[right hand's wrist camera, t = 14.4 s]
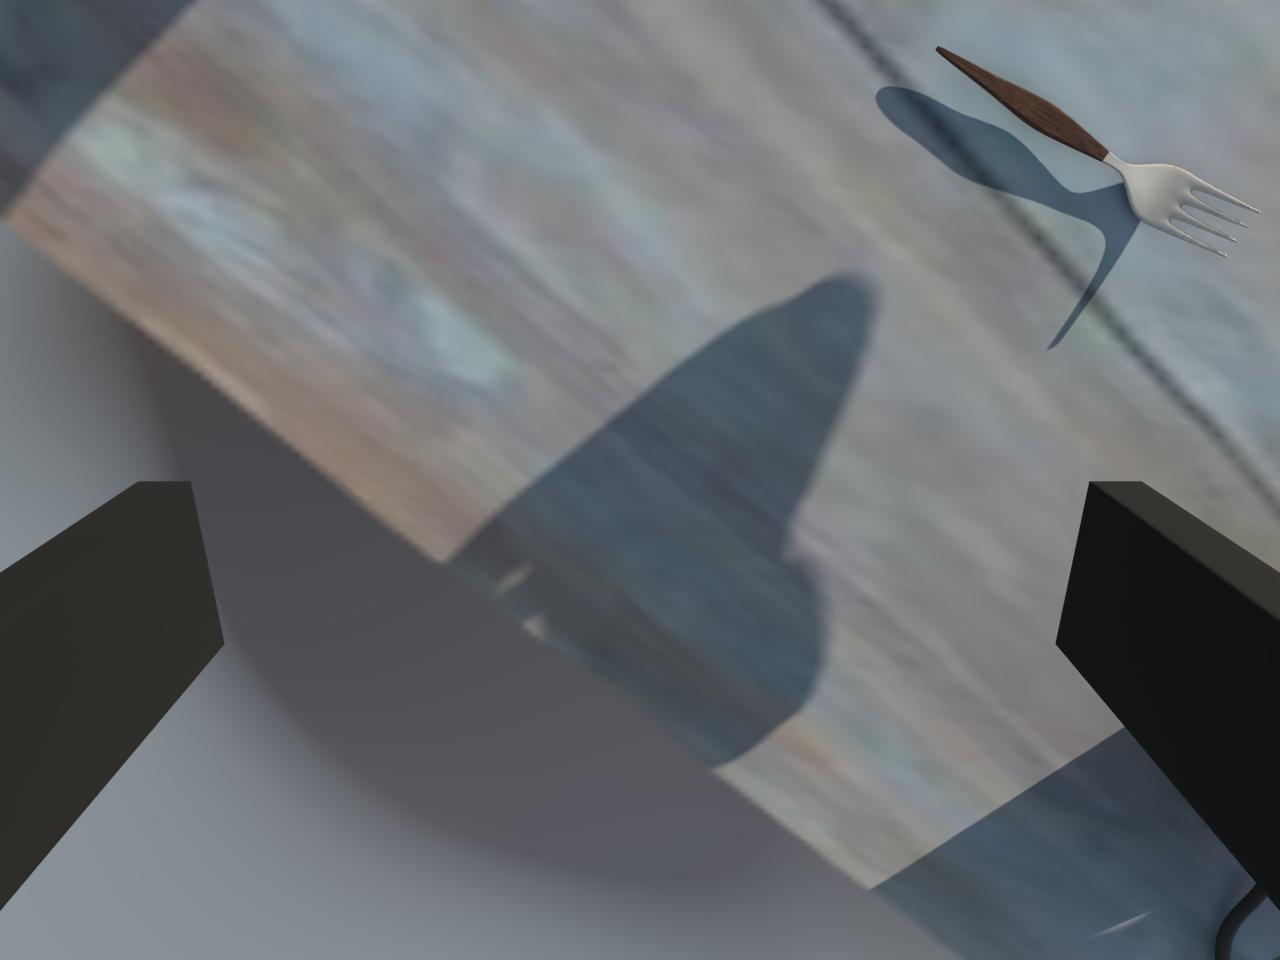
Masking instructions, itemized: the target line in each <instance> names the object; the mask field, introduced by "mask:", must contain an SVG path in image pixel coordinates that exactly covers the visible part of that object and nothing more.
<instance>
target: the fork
mask: <svg viewBox="0 0 1280 960" xmlns="http://www.w3.org/2000/svg"><path fill="white" fill-rule="evenodd" d="M936 51H937V52H938V53H939V54H940V55H942V56H943V57H944V58H945V59H946V60H948V61H949V62H950V63H951V64H953V65H954V66H955V67H957V68H958V69H959V70H960V71H962V72H963V73H964V74H966V75H967V76H968V77H969V78H971V79H972V80H973V81H975V82H976V83H977V84H978V85H980V86H981V87H982V88H983V89H985V90H986V91H987V92H988V93H990V94H991V95H992V96H993V97H994V98H996V99H997V100H998V101H999V102H1000V103H1002V104H1003V105H1004V106H1005V107H1006V108H1007V109H1009V110H1010V111H1011V112H1012V113H1013V114H1015V115H1016V116H1017V117H1018V118H1020V119H1021V120H1022V121H1023V122H1025V123H1026V124H1028V125H1029V126H1030V127H1032V128H1034V129H1035V130H1037V131H1039V132H1040V133H1042V134H1044V135H1046V136H1048V137H1050V138H1052V139H1054V140H1056V141H1058V142H1060V143H1062V144H1064V145H1067V146H1069V147H1071V148H1073V149H1075V150H1077V151H1079V152H1082V153H1084V154H1086V155H1088V156H1090V157H1092V158H1094V159H1097V160H1099V161H1101V162H1103V163H1105V164H1107V165H1109V166H1110V167H1112V168H1114V169H1115V170H1116V171H1117V172H1118V173H1119V174H1120V175H1121V177H1122V179H1123V182H1124V185H1125V189H1126V193H1127V197H1128V200H1129V203H1130V206H1131V208H1132V210H1133V212H1134V213H1135V215H1136V216H1137V217H1138V218H1139V219H1140V220H1141V221H1143V222H1144V223H1146V224H1148V225H1149V226H1152V227H1154V228H1156V229H1159V230H1161V231H1164V232H1166V233H1168V234H1171V235H1173V236H1175V237H1177V238H1180V239H1182V240H1184V241H1187V242H1189V243H1191V244H1194V245H1196V246H1199V247H1201V248H1204V249H1206V250H1209V251H1211V252H1214V253H1216V254H1219V255H1221V256H1223V257H1226V256H1227V255H1226V254H1223V253H1221V252H1219V251H1217V250H1215V249H1214V248H1212V247H1210V246H1208V245H1206V244H1205V243H1203V242H1201V241H1199V240H1197V239H1196V238H1194V237H1192V236H1190V235H1188V234H1187V233H1185V232H1183V231H1181V230H1180V229H1178V228H1176V227H1175V226H1173V225H1172V224H1171V222H1170V220H1171V219H1178V220H1181V221H1183V222H1186V223H1188V224H1191V225H1193V226H1195V227H1198V228H1200V229H1203V230H1205V231H1208V232H1210V233H1213V234H1215V235H1218V236H1220V237H1223V238H1225V239H1228V240H1231V241H1233V242H1238V241H1236V240H1235V239H1233V238H1231V237H1229V236H1227V235H1225V234H1223V233H1222V232H1220V231H1218V230H1216V229H1214V228H1213V227H1211V226H1209V225H1207V224H1205V223H1203V222H1202V221H1200V220H1198V219H1196V218H1194V217H1192V216H1191V215H1189V214H1187V213H1186V212H1184V211H1183V210H1182V209H1181V206H1182V205H1190V206H1192V207H1195V208H1198V209H1200V210H1202V211H1205V212H1207V213H1210V214H1212V215H1215V216H1217V217H1220V218H1222V219H1225V220H1227V221H1230V222H1233V223H1235V224H1238V225H1241V226H1243V227H1246V228H1249V227H1248V226H1247V225H1245V224H1243V223H1241V222H1239V221H1237V220H1236V219H1234V218H1232V217H1230V216H1228V215H1226V214H1224V213H1223V212H1221V211H1219V210H1217V209H1215V208H1213V207H1212V206H1210V205H1208V204H1206V203H1204V202H1202V201H1201V200H1199V199H1197V198H1196V197H1194V196H1193V195H1192V191H1193V190H1199V191H1202V192H1205V193H1207V194H1210V195H1212V196H1215V197H1217V198H1220V199H1222V200H1225V201H1227V202H1230V203H1232V204H1235V205H1238V206H1240V207H1243V208H1246V209H1248V210H1251V211H1253V212H1256V213H1258V214H1259V213H1260V211H1259V210H1256V209H1254V208H1252V207H1250V206H1248V205H1246V204H1244V203H1243V202H1241V201H1239V200H1237V199H1235V198H1233V197H1231V196H1229V195H1228V194H1226V193H1224V192H1222V191H1220V190H1218V189H1216V188H1214V187H1212V186H1211V185H1209V184H1207V183H1205V182H1203V181H1202V180H1200V179H1198V178H1197V177H1195V176H1194V175H1192V174H1190V173H1189V172H1187V171H1185V170H1183V169H1181V168H1178V167H1176V166H1172V165H1167V164H1147V165H1130V164H1127V163H1124V162H1123V161H1121V160H1119V159H1118V158H1117V157H1115V156H1114V155H1113V154H1112V153H1111V152H1109V151H1108V150H1107V149H1106V148H1105V147H1104V146H1102V145H1101V144H1100V143H1099V142H1098V141H1097V140H1096V139H1094V138H1093V137H1092V136H1091V135H1090V134H1089V133H1088V132H1086V131H1085V130H1084V129H1083V128H1082V127H1081V126H1080V125H1078V124H1077V123H1076V122H1075V121H1074V120H1073V119H1071V118H1070V117H1069V116H1068V115H1067V114H1065V113H1064V112H1063V111H1061V110H1060V109H1059V108H1057V107H1056V106H1054V105H1053V104H1051V103H1050V102H1048V101H1046V100H1045V99H1043V98H1041V97H1039V96H1037V95H1035V94H1033V93H1031V92H1029V91H1027V90H1025V89H1023V88H1021V87H1019V86H1017V85H1014V84H1012V83H1010V82H1008V81H1006V80H1004V79H1002V78H1000V77H998V76H996V75H994V74H992V73H990V72H988V71H986V70H984V69H982V68H980V67H978V66H977V65H975V64H973V63H971V62H969V61H967V60H965V59H963V58H961V57H959V56H957V55H956V54H954V53H952V52H950V51H948V50H946V49H944V48H941V47H939V46H938V47H937V48H936Z"/></svg>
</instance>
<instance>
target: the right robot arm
mask: <svg viewBox="0 0 1280 960" xmlns="http://www.w3.org/2000/svg"><path fill="white" fill-rule="evenodd" d="M223 645H224V639H223V634H222V629H221V625H220V620H219V615H218V610H217V605H216V601H215V596H214V591H213V586H212V582H211V577H210V572H209V567H208V562H207V558H206V553H205V548H204V543H203V538H202V534H201V529H200V524H199V519H198V514H197V510H196V505H195V500H194V495H193V490H192V486H191V482H190V481H138V482H137V483H135V484H134V485H132V486H131V487H129V488H128V489H126V490H125V491H123V492H122V493H120V494H118V495H117V496H115V497H114V498H113V499H111V500H109V501H108V502H106V503H105V504H103V505H102V506H100V507H99V508H97V509H96V510H94V511H93V512H91V513H90V514H88V515H87V516H85V517H84V518H82V519H81V520H79V521H78V522H76V523H75V524H73V525H72V526H70V527H69V528H67V529H66V530H64V531H63V532H61V533H60V534H58V535H57V536H55V537H53V538H52V539H50V540H49V541H47V542H46V543H44V544H43V545H41V546H40V547H38V548H37V549H35V550H34V551H32V552H31V553H29V554H28V555H26V556H25V557H23V558H22V559H20V560H19V561H17V562H16V563H14V564H13V565H11V566H10V567H8V568H7V569H5V570H4V571H2V572H1V573H0V910H1V909H2V908H3V907H4V906H5V904H6V903H7V902H8V901H9V900H10V898H11V897H12V896H13V895H14V894H15V893H16V891H17V890H18V889H19V888H20V887H21V885H22V884H23V883H24V882H25V881H26V880H27V878H28V877H29V876H30V875H31V874H32V872H33V871H34V870H35V869H36V868H37V866H38V865H39V864H40V863H41V862H42V860H43V859H44V858H45V857H46V856H47V855H48V853H49V852H50V851H51V850H52V848H53V847H54V846H55V845H56V844H57V843H58V841H59V840H60V839H61V838H62V837H63V835H64V834H65V833H66V832H67V831H68V830H69V828H70V827H71V826H72V825H73V824H74V822H75V821H76V820H77V819H78V818H79V816H80V815H81V814H82V813H83V812H84V810H85V809H86V808H87V807H88V806H89V805H90V803H91V802H92V801H93V800H94V799H95V797H96V796H97V795H98V794H99V793H100V791H101V790H102V789H103V788H104V787H105V785H106V784H107V783H108V782H109V781H110V780H111V778H112V777H113V776H114V775H115V774H116V772H117V771H118V770H119V769H120V768H121V766H122V765H123V764H124V763H125V762H126V760H127V759H128V758H129V757H130V756H131V755H132V753H133V752H134V751H135V750H136V749H137V747H138V746H139V745H140V744H141V743H142V741H143V740H144V739H145V738H146V737H147V735H148V734H149V733H150V732H151V731H152V730H153V728H154V727H155V726H156V725H157V724H158V722H159V721H160V720H161V719H162V718H163V716H164V715H165V714H166V713H167V712H168V710H169V709H170V708H171V707H172V706H173V705H174V703H175V702H176V701H177V700H178V699H179V697H180V696H181V695H182V694H183V693H184V692H185V690H186V689H187V688H188V687H189V686H190V684H191V683H192V682H193V681H194V680H195V678H196V677H197V676H198V675H199V674H200V672H201V671H202V670H203V669H204V668H205V667H206V665H207V664H208V663H209V662H210V661H211V659H212V658H213V657H214V656H215V655H216V653H217V652H218V651H219V650H220V649H221V647H222V646H223ZM1056 645H1057V646H1058V647H1059V649H1060V650H1061V651H1062V652H1063V653H1064V655H1065V656H1066V657H1067V658H1068V659H1069V661H1070V662H1071V663H1072V664H1073V665H1074V667H1075V668H1076V669H1077V670H1078V671H1079V672H1080V674H1081V675H1082V676H1083V677H1084V678H1085V680H1086V681H1087V682H1088V683H1089V684H1090V686H1091V687H1092V688H1093V689H1094V690H1095V692H1096V693H1097V694H1098V695H1099V696H1100V697H1101V699H1102V700H1103V701H1104V702H1105V703H1106V705H1107V706H1108V707H1109V708H1110V709H1111V711H1112V712H1113V713H1114V714H1115V715H1116V716H1117V718H1118V719H1119V720H1120V721H1121V722H1122V724H1123V725H1124V726H1125V727H1126V728H1127V730H1128V731H1129V732H1130V733H1131V734H1132V736H1133V737H1134V738H1135V739H1136V740H1137V741H1138V743H1139V744H1140V745H1141V746H1142V747H1143V749H1144V750H1145V751H1146V752H1147V753H1148V755H1149V756H1150V757H1151V758H1152V759H1153V761H1154V762H1155V763H1156V764H1157V765H1158V766H1159V768H1160V769H1161V770H1162V771H1163V772H1164V774H1165V775H1166V776H1167V777H1168V778H1169V780H1170V781H1171V782H1172V783H1173V784H1174V786H1175V787H1176V788H1177V789H1178V790H1179V791H1180V793H1181V794H1182V795H1183V796H1184V797H1185V799H1186V800H1187V801H1188V802H1189V803H1190V805H1191V806H1192V807H1193V808H1194V809H1195V810H1196V812H1197V813H1198V814H1199V815H1200V816H1201V818H1202V819H1203V820H1204V821H1205V822H1206V824H1207V825H1208V826H1209V827H1210V828H1211V830H1212V831H1213V832H1214V833H1215V834H1216V835H1217V837H1218V838H1219V839H1220V840H1221V841H1222V843H1223V844H1224V845H1225V846H1226V847H1227V849H1228V850H1229V851H1230V852H1231V853H1232V855H1233V856H1234V857H1235V858H1236V859H1237V860H1238V862H1239V863H1240V864H1241V865H1242V866H1243V868H1244V869H1245V870H1246V871H1247V872H1248V874H1249V875H1250V876H1251V877H1252V878H1253V880H1254V881H1255V882H1256V884H1255V886H1254V887H1253V888H1252V889H1251V890H1250V892H1249V893H1248V894H1247V895H1246V896H1245V897H1244V898H1243V899H1242V900H1241V901H1240V902H1239V903H1238V904H1237V905H1236V906H1235V907H1234V908H1233V909H1232V910H1231V911H1230V913H1229V914H1228V915H1227V916H1226V918H1225V919H1224V921H1223V923H1222V925H1221V927H1220V930H1219V932H1218V935H1217V939H1216V947H1215V960H1230V951H1231V945H1232V941H1233V938H1234V936H1235V933H1236V931H1237V929H1238V928H1239V926H1240V925H1241V923H1242V922H1243V921H1244V920H1245V919H1246V918H1247V917H1248V916H1249V915H1250V914H1251V913H1252V912H1253V911H1254V910H1255V909H1256V908H1257V907H1258V906H1259V905H1260V904H1261V903H1262V902H1263V901H1264V900H1265V898H1266V897H1267V896H1268V897H1269V899H1270V900H1271V901H1272V902H1273V903H1274V904H1275V906H1276V907H1277V908H1278V909H1279V910H1280V573H1279V572H1278V571H1276V570H1275V569H1273V568H1272V567H1270V566H1269V565H1267V564H1266V563H1264V562H1263V561H1261V560H1260V559H1258V558H1257V557H1255V556H1254V555H1252V554H1251V553H1249V552H1248V551H1246V550H1245V549H1243V548H1242V547H1240V546H1239V545H1237V544H1236V543H1234V542H1233V541H1231V540H1230V539H1228V538H1227V537H1225V536H1224V535H1222V534H1220V533H1219V532H1217V531H1216V530H1214V529H1213V528H1211V527H1210V526H1208V525H1207V524H1205V523H1204V522H1202V521H1201V520H1199V519H1198V518H1196V517H1195V516H1193V515H1192V514H1190V513H1189V512H1187V511H1186V510H1184V509H1183V508H1181V507H1180V506H1178V505H1177V504H1175V503H1174V502H1172V501H1171V500H1169V499H1168V498H1166V497H1165V496H1163V495H1162V494H1160V493H1159V492H1157V491H1155V490H1154V489H1152V488H1151V487H1149V486H1148V485H1146V484H1145V483H1143V482H1142V481H1089V486H1088V490H1087V495H1086V500H1085V505H1084V510H1083V514H1082V519H1081V524H1080V529H1079V534H1078V538H1077V543H1076V548H1075V553H1074V558H1073V562H1072V567H1071V572H1070V577H1069V581H1068V586H1067V591H1066V596H1065V601H1064V605H1063V610H1062V615H1061V620H1060V625H1059V629H1058V634H1057V639H1056ZM1273 960H1280V956H1279V957H1277V958H1275V959H1273Z"/></svg>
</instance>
